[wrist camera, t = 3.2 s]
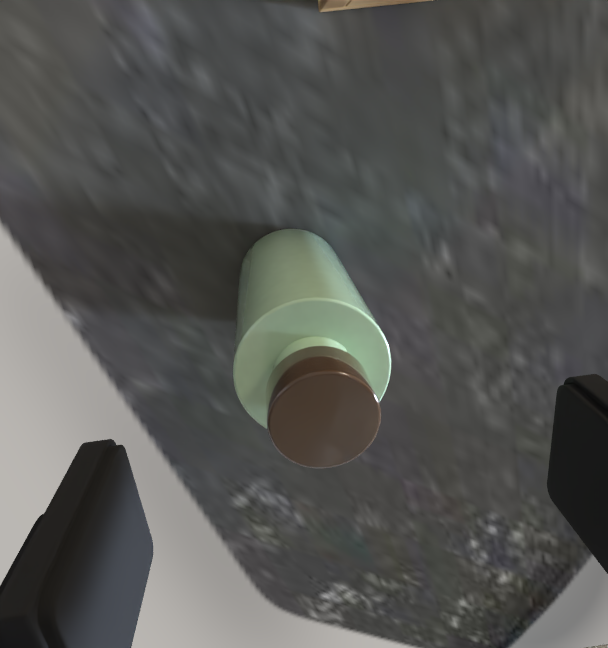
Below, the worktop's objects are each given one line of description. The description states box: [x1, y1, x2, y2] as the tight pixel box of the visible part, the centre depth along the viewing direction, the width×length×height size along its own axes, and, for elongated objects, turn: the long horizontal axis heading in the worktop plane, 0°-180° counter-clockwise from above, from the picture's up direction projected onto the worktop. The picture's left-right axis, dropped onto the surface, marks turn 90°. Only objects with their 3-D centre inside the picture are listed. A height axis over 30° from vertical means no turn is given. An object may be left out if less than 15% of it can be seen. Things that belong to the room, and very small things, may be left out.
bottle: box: [233, 229, 391, 468], centre depth 17 cm, size 5×5×12 cm
